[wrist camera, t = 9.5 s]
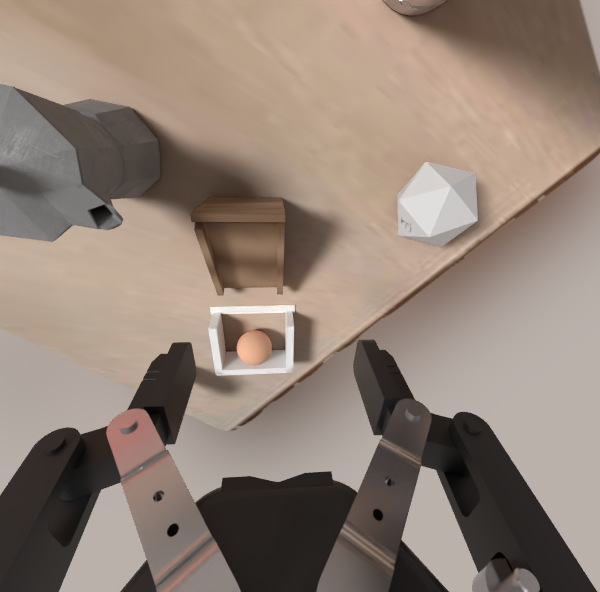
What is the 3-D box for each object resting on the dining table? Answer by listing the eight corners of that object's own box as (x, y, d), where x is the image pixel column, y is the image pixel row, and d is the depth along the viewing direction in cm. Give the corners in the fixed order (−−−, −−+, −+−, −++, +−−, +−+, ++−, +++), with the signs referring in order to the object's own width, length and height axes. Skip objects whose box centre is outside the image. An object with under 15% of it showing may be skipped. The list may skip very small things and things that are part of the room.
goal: (213, 312, 41) (208, 328, 37) (292, 310, 42) (294, 326, 38) (220, 356, 45) (215, 375, 42) (291, 354, 46) (293, 372, 43)
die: (400, 149, 33) (385, 204, 28) (488, 143, 29) (487, 204, 25) (400, 207, 39) (387, 260, 35) (472, 207, 36) (469, 266, 31)
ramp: (209, 194, 33) (190, 214, 25) (282, 195, 34) (285, 214, 26) (220, 286, 39) (208, 324, 31) (282, 285, 40) (285, 321, 32)
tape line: (210, 306, 40) (209, 307, 40) (295, 304, 41) (295, 305, 41) (211, 313, 41) (210, 314, 41) (294, 311, 42) (295, 312, 42)
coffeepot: (195, 146, 30) (116, 163, 15) (164, 222, 34) (74, 299, 18) (27, 42, 25) (-359, -97, 10) (12, 144, 29) (-288, 160, 13)
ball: (237, 372, 42) (239, 342, 45) (272, 370, 42) (272, 341, 45) (233, 355, 38) (236, 323, 41) (271, 353, 38) (271, 323, 41)
